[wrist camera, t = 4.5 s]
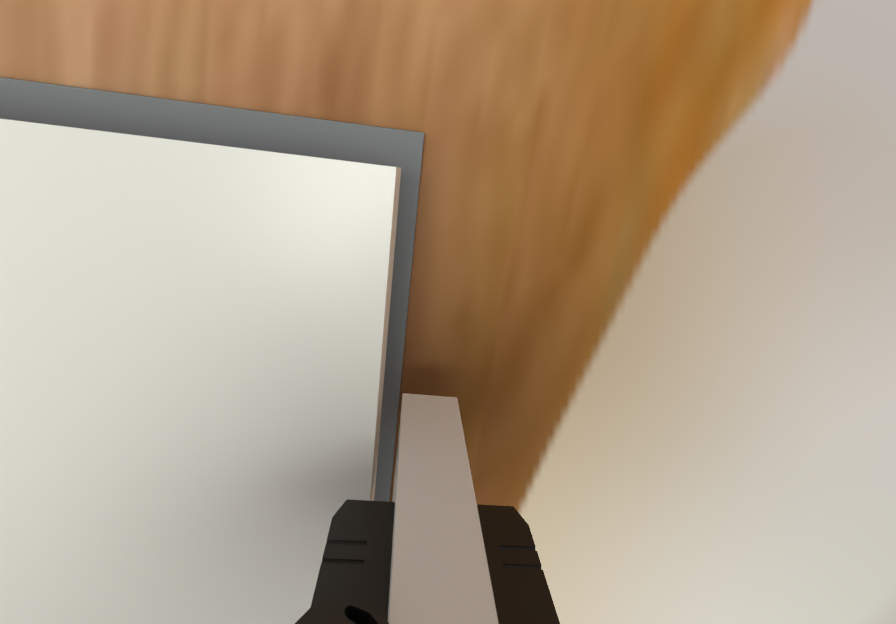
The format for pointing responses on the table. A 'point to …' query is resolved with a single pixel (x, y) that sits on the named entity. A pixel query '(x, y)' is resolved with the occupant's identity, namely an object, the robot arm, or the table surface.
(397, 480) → the robot arm
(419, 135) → the mat
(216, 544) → the plate
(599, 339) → the table surface
